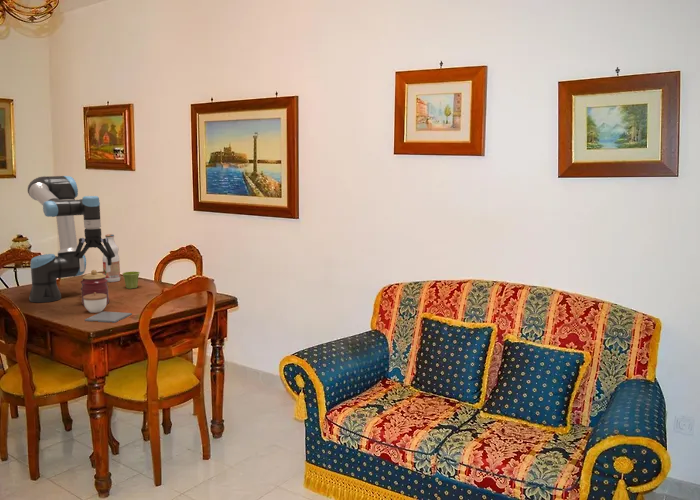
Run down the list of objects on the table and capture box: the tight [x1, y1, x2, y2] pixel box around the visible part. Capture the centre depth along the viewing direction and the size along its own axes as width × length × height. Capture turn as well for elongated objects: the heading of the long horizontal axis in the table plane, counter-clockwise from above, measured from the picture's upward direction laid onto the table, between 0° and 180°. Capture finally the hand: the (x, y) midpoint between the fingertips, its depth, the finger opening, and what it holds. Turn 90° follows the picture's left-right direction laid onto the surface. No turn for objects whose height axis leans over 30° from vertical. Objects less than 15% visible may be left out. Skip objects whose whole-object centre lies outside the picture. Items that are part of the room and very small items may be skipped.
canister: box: [80, 269, 110, 307], centre depth 325 cm, size 13×13×18 cm
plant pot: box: [122, 271, 141, 290], centre depth 364 cm, size 9×9×9 cm
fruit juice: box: [102, 233, 121, 283], centre depth 382 cm, size 9×9×28 cm
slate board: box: [84, 310, 133, 324], centre depth 299 cm, size 15×15×1 cm
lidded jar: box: [83, 292, 107, 314], centre depth 310 cm, size 11×11×9 cm
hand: (95, 271), depth 309 cm, fingers open, 13 cm apart
